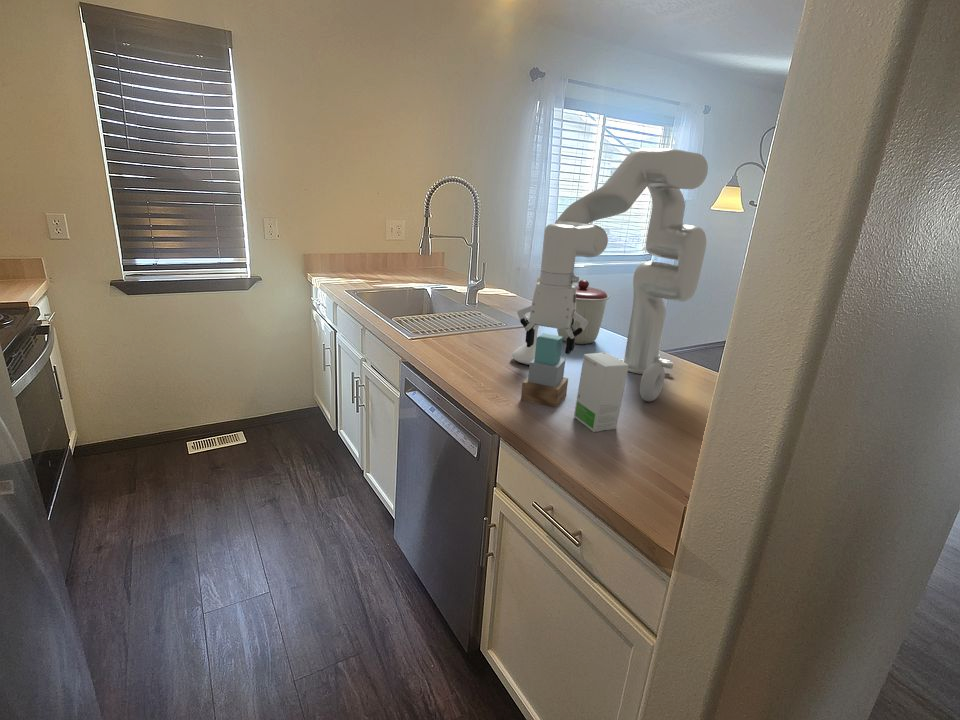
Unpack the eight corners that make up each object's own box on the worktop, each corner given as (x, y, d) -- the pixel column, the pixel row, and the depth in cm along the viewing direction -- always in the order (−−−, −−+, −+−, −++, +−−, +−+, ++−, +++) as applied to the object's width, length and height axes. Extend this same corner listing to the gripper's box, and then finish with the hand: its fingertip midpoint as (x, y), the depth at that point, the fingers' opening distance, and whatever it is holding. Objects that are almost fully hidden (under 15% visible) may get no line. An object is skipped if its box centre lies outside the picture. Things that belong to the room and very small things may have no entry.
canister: (539, 336, 182) (545, 276, 175) (575, 330, 192) (582, 274, 186) (577, 351, 168) (585, 286, 162) (613, 343, 179) (622, 283, 172)
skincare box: (573, 417, 119) (581, 353, 114) (596, 414, 122) (605, 351, 117) (594, 433, 112) (604, 365, 107) (619, 429, 115) (630, 363, 110)
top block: (563, 378, 130) (565, 359, 128) (555, 387, 124) (557, 367, 122) (536, 373, 132) (538, 354, 131) (527, 381, 126) (529, 362, 124)
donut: (650, 393, 136) (656, 357, 133) (662, 397, 134) (669, 360, 131) (634, 403, 129) (640, 366, 126) (647, 408, 127) (654, 369, 124)
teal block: (560, 360, 127) (562, 336, 126) (554, 365, 123) (556, 341, 121) (541, 356, 129) (543, 333, 127) (534, 361, 125) (536, 337, 123)
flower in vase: (548, 370, 149) (557, 284, 141) (509, 365, 151) (516, 280, 142) (551, 356, 161) (560, 276, 153) (515, 352, 163) (522, 273, 155)
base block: (566, 396, 132) (568, 378, 130) (555, 409, 124) (558, 389, 122) (532, 389, 135) (534, 371, 133) (520, 401, 127) (522, 382, 126)
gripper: (596, 281, 120) (587, 351, 125) (526, 272, 126) (520, 339, 132) (589, 286, 113) (579, 360, 119) (515, 276, 120) (510, 347, 125)
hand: (548, 349), depth 125 cm, fingers open, 9 cm apart
